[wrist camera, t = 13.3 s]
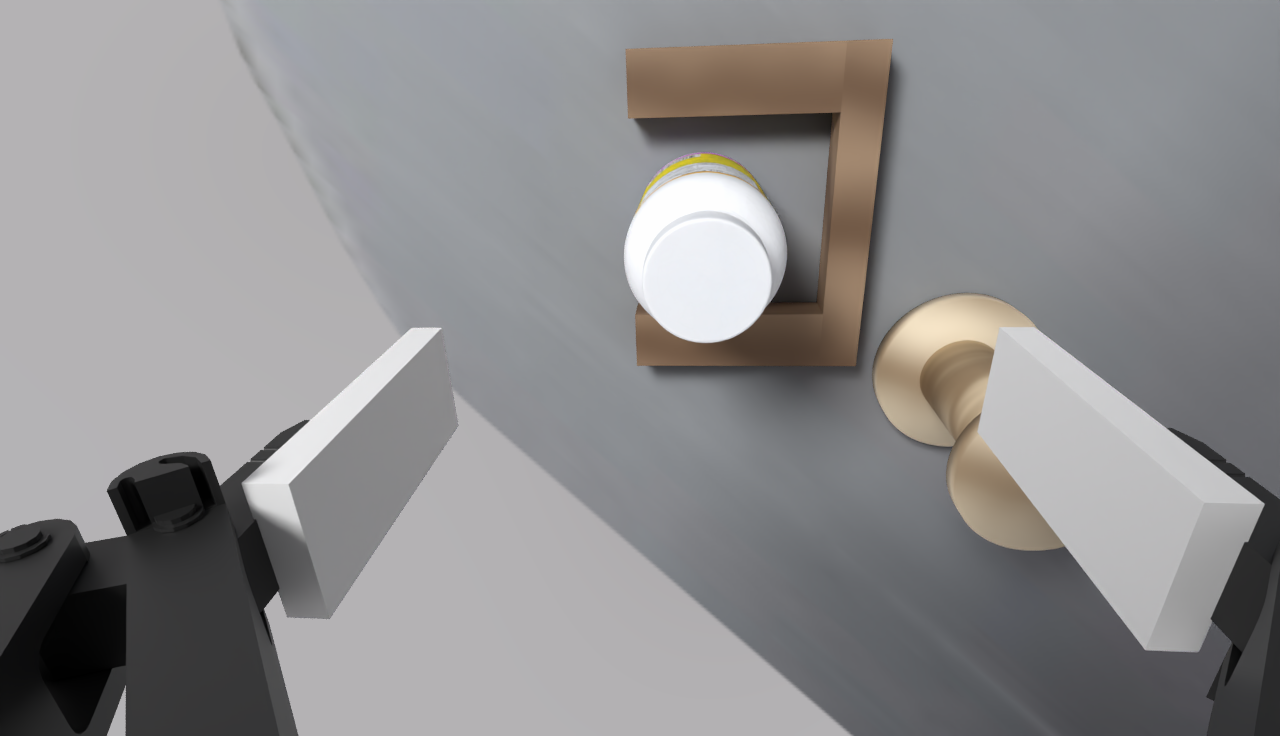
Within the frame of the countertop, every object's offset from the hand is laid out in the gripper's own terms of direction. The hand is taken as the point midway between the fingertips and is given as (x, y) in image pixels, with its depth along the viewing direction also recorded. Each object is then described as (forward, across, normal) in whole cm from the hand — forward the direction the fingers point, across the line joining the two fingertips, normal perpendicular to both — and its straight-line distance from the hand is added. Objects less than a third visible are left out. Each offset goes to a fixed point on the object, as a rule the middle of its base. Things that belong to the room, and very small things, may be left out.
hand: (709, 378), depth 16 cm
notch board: (+21, +2, 0) cm, 21 cm away
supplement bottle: (+21, 0, 0) cm, 21 cm away
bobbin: (+21, +14, -9) cm, 27 cm away
